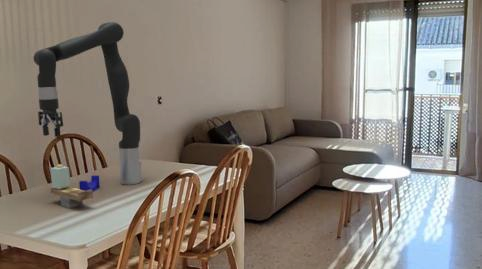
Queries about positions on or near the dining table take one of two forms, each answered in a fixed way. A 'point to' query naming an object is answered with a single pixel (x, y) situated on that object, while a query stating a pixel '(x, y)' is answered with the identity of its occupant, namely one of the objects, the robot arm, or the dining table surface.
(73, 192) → the beam
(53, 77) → the robot arm
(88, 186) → the cable clip
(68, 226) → the dining table surface
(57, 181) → the block
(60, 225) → the dining table surface
